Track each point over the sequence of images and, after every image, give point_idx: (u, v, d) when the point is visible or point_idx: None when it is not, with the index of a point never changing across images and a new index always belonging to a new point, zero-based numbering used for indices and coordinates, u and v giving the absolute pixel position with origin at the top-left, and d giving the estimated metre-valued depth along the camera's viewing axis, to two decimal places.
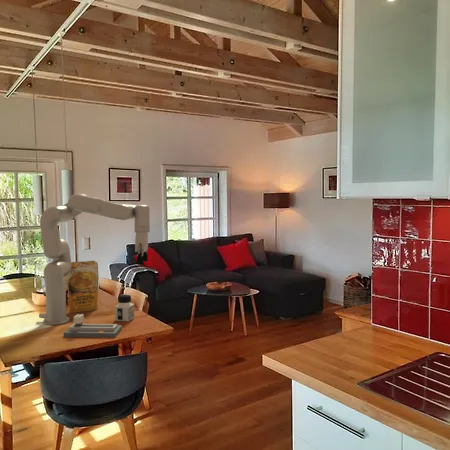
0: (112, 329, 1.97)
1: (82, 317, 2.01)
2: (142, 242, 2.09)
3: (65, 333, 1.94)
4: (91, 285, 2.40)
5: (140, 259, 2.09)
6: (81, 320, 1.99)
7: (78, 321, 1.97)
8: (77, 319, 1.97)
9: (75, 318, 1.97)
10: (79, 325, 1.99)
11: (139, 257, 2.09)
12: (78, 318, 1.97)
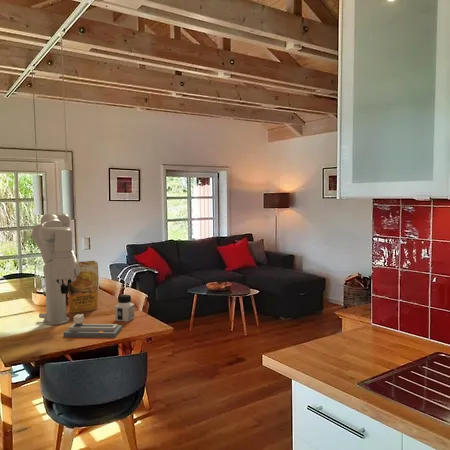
0: (112, 329, 1.97)
1: (82, 317, 2.01)
2: (75, 267, 1.99)
3: (65, 333, 1.94)
4: (91, 285, 2.40)
5: (68, 287, 1.99)
6: (81, 320, 1.99)
7: (78, 321, 1.97)
8: (77, 319, 1.97)
9: (75, 318, 1.97)
10: (79, 325, 1.99)
11: (67, 285, 1.99)
12: (78, 318, 1.97)
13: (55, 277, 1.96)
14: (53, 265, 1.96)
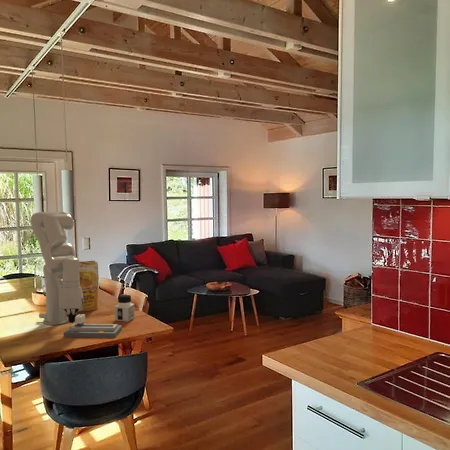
0: (112, 329, 1.97)
1: (83, 317, 2.01)
2: (82, 296, 2.00)
3: (65, 333, 1.94)
4: (91, 285, 2.40)
5: (75, 316, 2.00)
6: (82, 320, 1.99)
7: (79, 321, 1.97)
8: (78, 319, 1.97)
9: (76, 318, 1.97)
10: (80, 325, 1.99)
11: (75, 314, 1.99)
12: (79, 318, 1.97)
13: (63, 306, 1.97)
14: (61, 294, 1.97)
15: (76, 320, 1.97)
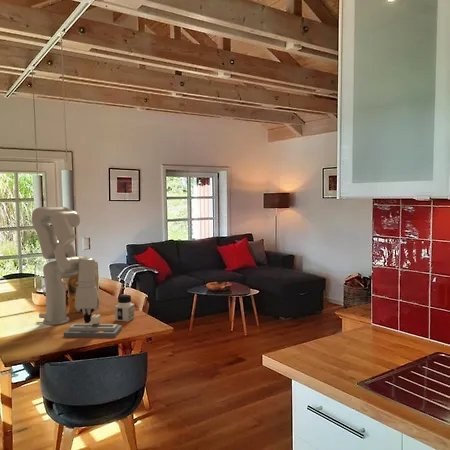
0: (112, 329, 1.97)
1: (99, 317, 2.00)
2: None
3: (65, 333, 1.94)
4: None
5: (90, 316, 2.00)
6: (98, 320, 1.99)
7: (95, 321, 1.97)
8: (94, 319, 1.97)
9: (92, 318, 1.97)
10: (96, 325, 1.99)
11: (90, 314, 1.99)
12: (95, 318, 1.97)
13: (78, 306, 1.97)
14: (76, 295, 1.96)
15: (92, 320, 1.97)
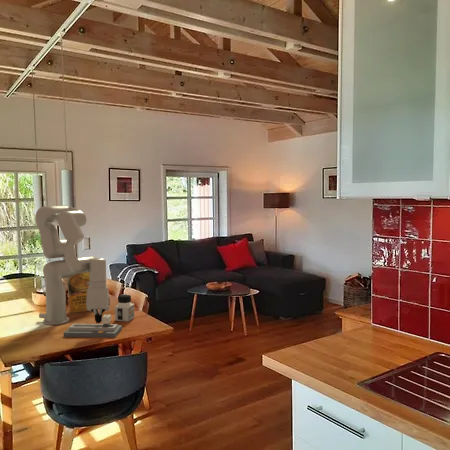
0: (112, 329, 1.97)
1: (110, 317, 2.00)
2: None
3: (65, 333, 1.94)
4: None
5: (101, 316, 2.00)
6: (109, 320, 1.99)
7: (106, 321, 1.97)
8: (105, 319, 1.97)
9: (103, 318, 1.97)
10: (107, 325, 1.99)
11: (101, 315, 1.99)
12: (106, 318, 1.97)
13: (90, 307, 1.96)
14: (88, 295, 1.96)
15: (103, 320, 1.97)
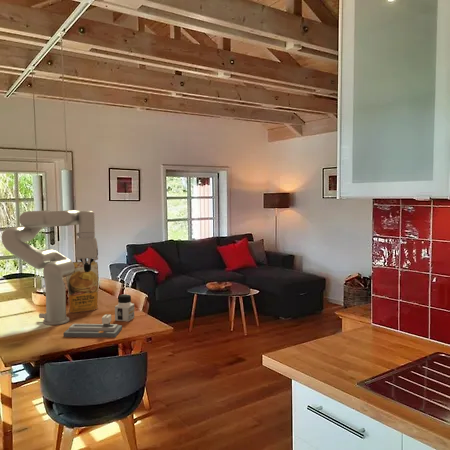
0: (112, 329, 1.97)
1: (110, 317, 2.00)
2: (97, 247, 2.12)
3: (65, 333, 1.94)
4: (91, 285, 2.40)
5: (90, 266, 2.12)
6: (109, 320, 1.99)
7: (106, 321, 1.97)
8: (105, 319, 1.97)
9: (103, 318, 1.97)
10: (107, 325, 1.99)
11: (90, 264, 2.11)
12: (106, 318, 1.97)
13: (79, 256, 2.08)
14: (77, 245, 2.08)
15: (103, 320, 1.97)
